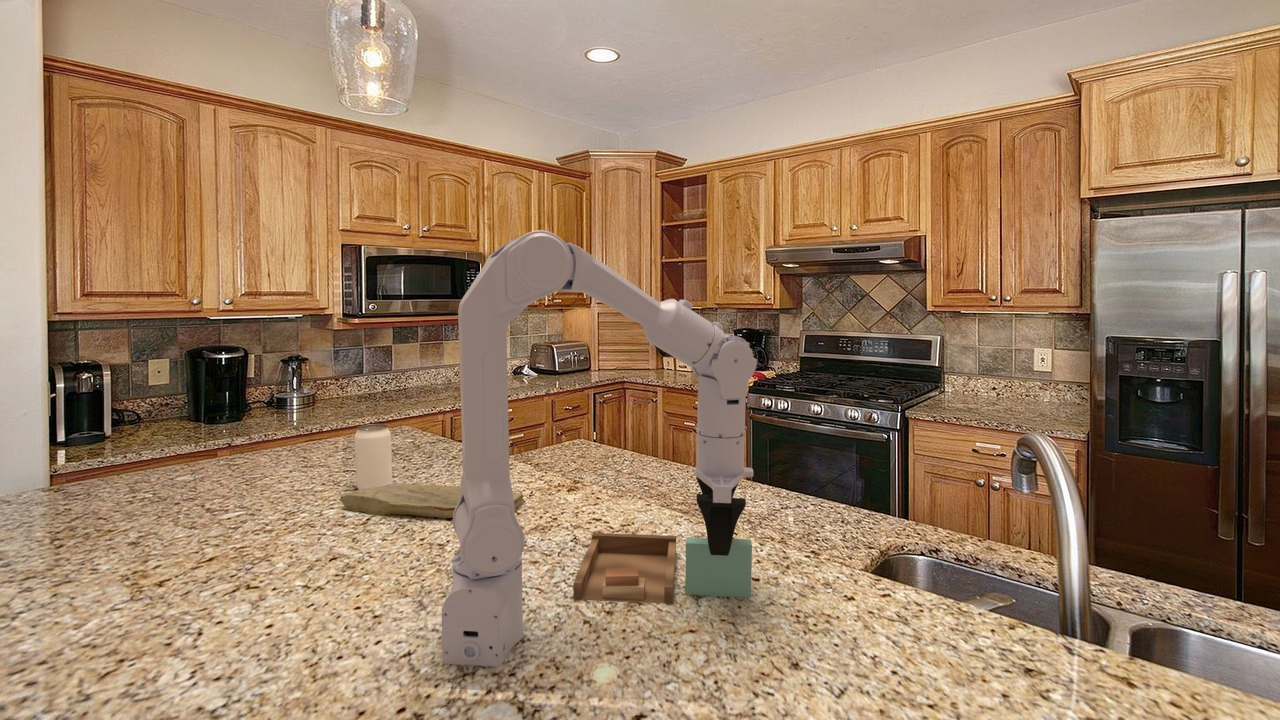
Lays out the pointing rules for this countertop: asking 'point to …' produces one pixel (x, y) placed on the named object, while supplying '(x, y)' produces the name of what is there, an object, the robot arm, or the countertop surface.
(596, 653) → the countertop surface
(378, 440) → the can
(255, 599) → the countertop surface
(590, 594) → the tray
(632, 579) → the offcut upper
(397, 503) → the stone slab
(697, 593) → the block
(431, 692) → the countertop surface
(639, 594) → the offcut lower
